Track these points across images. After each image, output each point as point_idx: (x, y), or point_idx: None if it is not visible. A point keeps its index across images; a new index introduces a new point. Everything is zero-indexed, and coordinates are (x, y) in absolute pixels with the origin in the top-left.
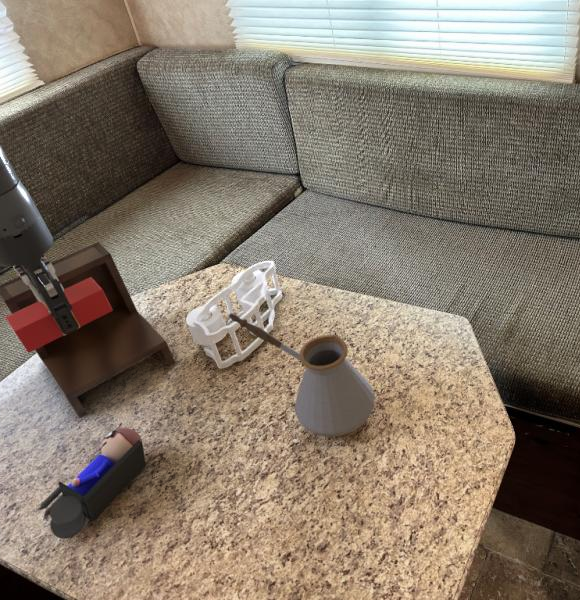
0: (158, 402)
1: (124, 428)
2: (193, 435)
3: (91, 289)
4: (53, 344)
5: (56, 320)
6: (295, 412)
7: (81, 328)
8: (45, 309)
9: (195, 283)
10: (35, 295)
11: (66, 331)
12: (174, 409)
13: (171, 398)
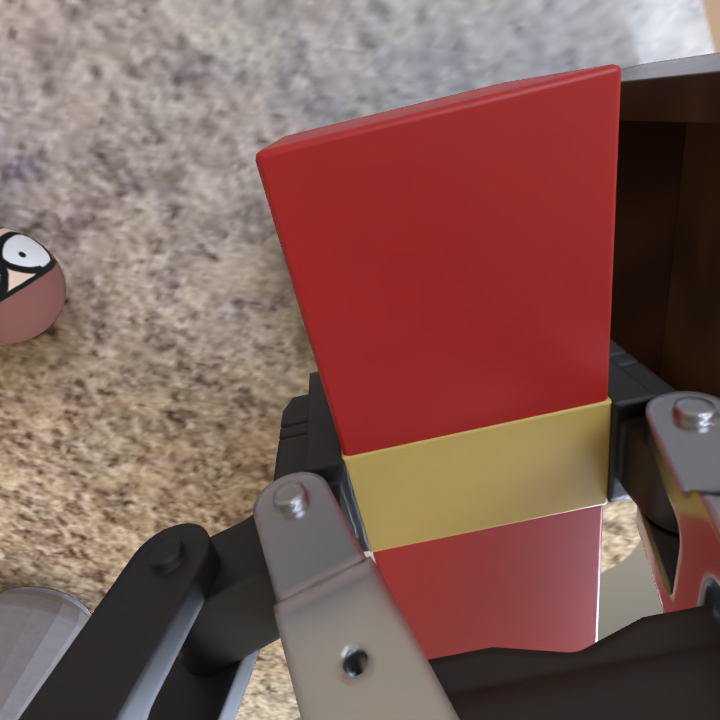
0: (247, 357)
1: (4, 329)
2: (90, 405)
3: (455, 649)
4: (647, 145)
5: (306, 440)
6: (14, 606)
7: (650, 259)
8: (438, 426)
9: None
10: (296, 693)
11: (287, 406)
12: (201, 385)
13: (245, 386)
